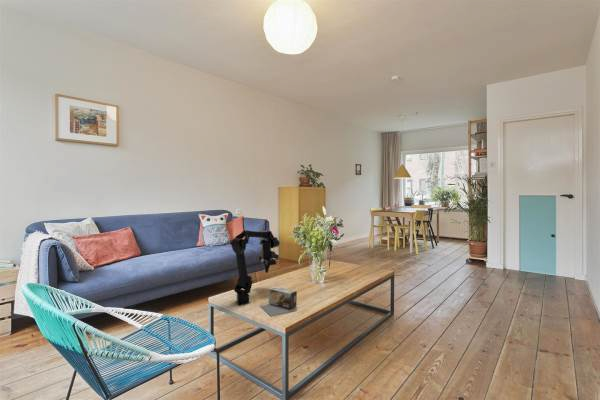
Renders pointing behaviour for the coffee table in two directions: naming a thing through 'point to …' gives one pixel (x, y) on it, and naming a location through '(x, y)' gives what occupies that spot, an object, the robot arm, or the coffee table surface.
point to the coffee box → (282, 297)
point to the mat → (276, 309)
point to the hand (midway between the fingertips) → (266, 272)
